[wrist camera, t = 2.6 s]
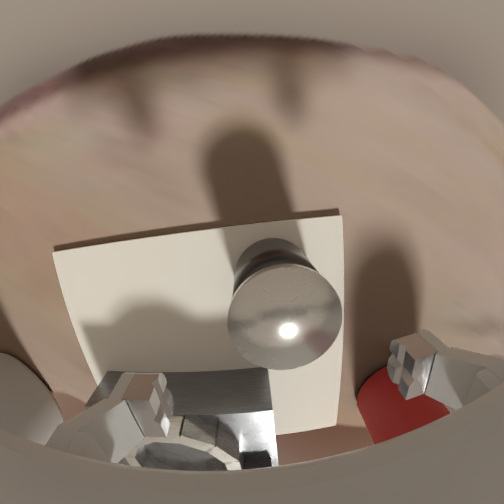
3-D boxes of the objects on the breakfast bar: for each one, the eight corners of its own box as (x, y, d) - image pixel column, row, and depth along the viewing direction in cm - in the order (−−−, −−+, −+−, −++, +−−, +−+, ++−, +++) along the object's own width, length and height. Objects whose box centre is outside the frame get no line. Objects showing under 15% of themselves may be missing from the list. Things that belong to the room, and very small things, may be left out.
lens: (308, 232, 18) (342, 260, 12) (312, 304, 20) (340, 361, 13) (228, 241, 18) (218, 275, 12) (239, 313, 20) (235, 375, 13)
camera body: (267, 366, 21) (274, 430, 14) (275, 435, 23) (281, 490, 16) (107, 370, 21) (75, 420, 14) (139, 435, 23) (122, 483, 16)
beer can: (415, 348, 21) (487, 433, 10) (414, 394, 23) (466, 473, 11) (350, 376, 22) (402, 484, 10) (357, 419, 23) (395, 511, 12)
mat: (339, 214, 19) (341, 215, 18) (335, 422, 23) (335, 425, 23) (55, 251, 19) (52, 252, 18) (124, 431, 23) (123, 433, 23)
